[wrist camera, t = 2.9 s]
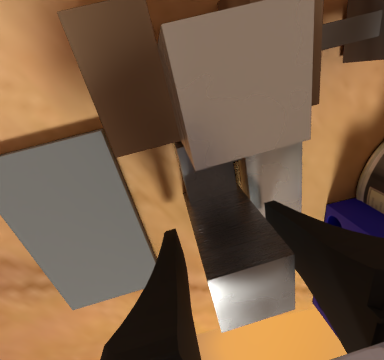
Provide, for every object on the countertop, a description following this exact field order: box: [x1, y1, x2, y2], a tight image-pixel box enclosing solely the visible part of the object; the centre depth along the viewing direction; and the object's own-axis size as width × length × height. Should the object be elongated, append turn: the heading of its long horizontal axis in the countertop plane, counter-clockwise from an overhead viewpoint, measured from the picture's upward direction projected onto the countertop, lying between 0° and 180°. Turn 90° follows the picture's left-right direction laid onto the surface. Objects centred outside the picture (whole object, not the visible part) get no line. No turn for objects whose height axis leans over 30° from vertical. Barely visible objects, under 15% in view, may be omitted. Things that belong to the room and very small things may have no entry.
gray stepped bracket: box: [174, 141, 295, 332], centre depth 11 cm, size 4×8×7 cm, turn 13°
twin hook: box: [157, 0, 314, 219], centre depth 11 cm, size 7×13×7 cm, turn 13°
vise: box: [57, 0, 384, 158], centre depth 10 cm, size 14×5×4 cm, turn 103°
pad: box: [0, 129, 157, 310], centre depth 14 cm, size 7×12×1 cm, turn 13°
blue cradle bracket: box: [313, 198, 384, 337], centre depth 17 cm, size 12×4×6 cm, turn 9°
